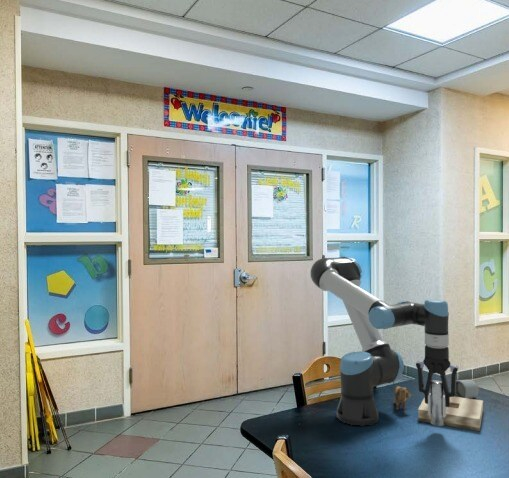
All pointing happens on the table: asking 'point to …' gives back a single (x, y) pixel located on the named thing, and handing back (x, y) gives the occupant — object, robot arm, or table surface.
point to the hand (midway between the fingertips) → (437, 414)
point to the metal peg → (437, 403)
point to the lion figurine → (401, 396)
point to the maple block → (458, 413)
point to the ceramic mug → (466, 389)
